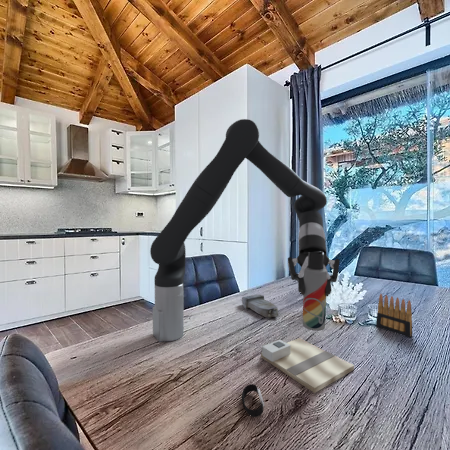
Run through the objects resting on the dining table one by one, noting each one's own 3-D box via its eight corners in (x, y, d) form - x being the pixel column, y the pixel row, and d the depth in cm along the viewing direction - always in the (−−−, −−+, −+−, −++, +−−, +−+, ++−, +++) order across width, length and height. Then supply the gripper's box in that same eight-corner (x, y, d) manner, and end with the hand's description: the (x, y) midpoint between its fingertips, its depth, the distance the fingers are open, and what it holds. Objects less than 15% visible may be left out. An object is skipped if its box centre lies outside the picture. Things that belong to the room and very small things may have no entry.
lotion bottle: (314, 333, 67) (316, 253, 65) (297, 324, 72) (300, 249, 70) (330, 328, 69) (333, 251, 68) (313, 320, 74) (315, 248, 73)
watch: (268, 419, 53) (268, 401, 53) (244, 420, 53) (244, 403, 53) (259, 393, 61) (259, 377, 61) (239, 394, 61) (239, 378, 60)
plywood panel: (314, 393, 61) (314, 387, 61) (260, 357, 75) (260, 352, 75) (354, 369, 70) (354, 364, 70) (299, 341, 84) (299, 337, 84)
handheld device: (267, 322, 100) (267, 310, 100) (238, 306, 117) (238, 295, 117) (287, 317, 104) (287, 305, 104) (256, 302, 122) (256, 292, 122)
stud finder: (272, 361, 71) (272, 351, 71) (262, 355, 74) (262, 345, 74) (290, 354, 75) (290, 344, 75) (279, 347, 78) (280, 338, 78)
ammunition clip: (412, 336, 89) (413, 300, 88) (410, 337, 87) (411, 301, 87) (378, 325, 97) (379, 292, 97) (375, 326, 96) (377, 293, 95)
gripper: (336, 250, 80) (342, 303, 69) (286, 248, 83) (285, 298, 72) (339, 233, 75) (347, 288, 64) (286, 233, 78) (285, 284, 67)
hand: (314, 293), depth 68 cm, fingers closed on lotion bottle, 5 cm apart
